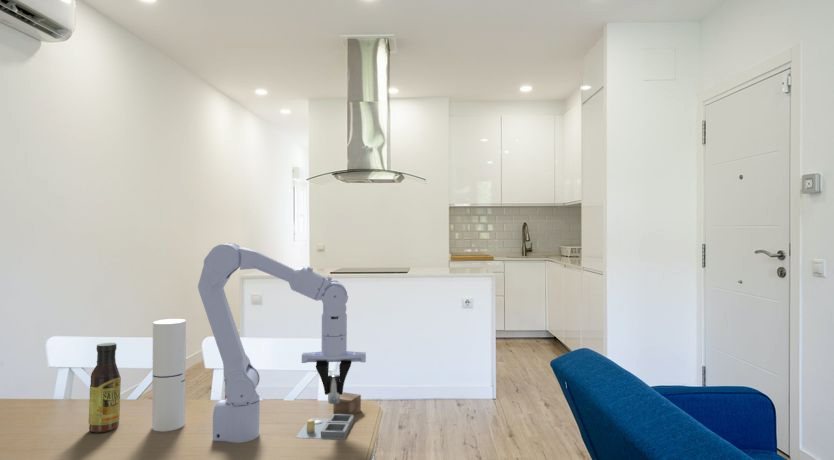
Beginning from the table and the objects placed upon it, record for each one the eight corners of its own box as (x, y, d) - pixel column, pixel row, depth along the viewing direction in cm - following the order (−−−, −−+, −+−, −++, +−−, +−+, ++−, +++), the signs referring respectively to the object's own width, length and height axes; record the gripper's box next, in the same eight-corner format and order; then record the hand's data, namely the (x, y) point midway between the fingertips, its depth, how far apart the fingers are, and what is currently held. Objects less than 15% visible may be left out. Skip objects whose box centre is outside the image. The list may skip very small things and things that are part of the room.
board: (295, 442, 115) (295, 426, 116) (310, 422, 127) (310, 407, 127) (344, 443, 115) (344, 427, 115) (354, 423, 127) (354, 409, 127)
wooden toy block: (350, 420, 129) (350, 400, 129) (333, 417, 130) (333, 397, 130) (360, 414, 133) (360, 394, 133) (343, 411, 135) (343, 392, 135)
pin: (328, 400, 121) (328, 374, 122) (339, 400, 122) (340, 374, 122) (327, 403, 119) (327, 377, 119) (339, 403, 119) (339, 377, 119)
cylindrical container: (145, 428, 123) (146, 322, 123) (172, 418, 130) (172, 317, 130) (165, 433, 120) (166, 325, 120) (191, 423, 126) (192, 320, 126)
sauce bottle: (105, 435, 119) (105, 348, 119) (81, 432, 120) (82, 346, 120) (126, 424, 125) (127, 342, 125) (104, 422, 127) (104, 340, 127)
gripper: (366, 330, 125) (366, 387, 125) (305, 331, 124) (304, 388, 124) (365, 336, 117) (364, 396, 117) (300, 337, 117) (299, 397, 117)
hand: (333, 393), depth 120 cm, fingers closed on pin, 3 cm apart
